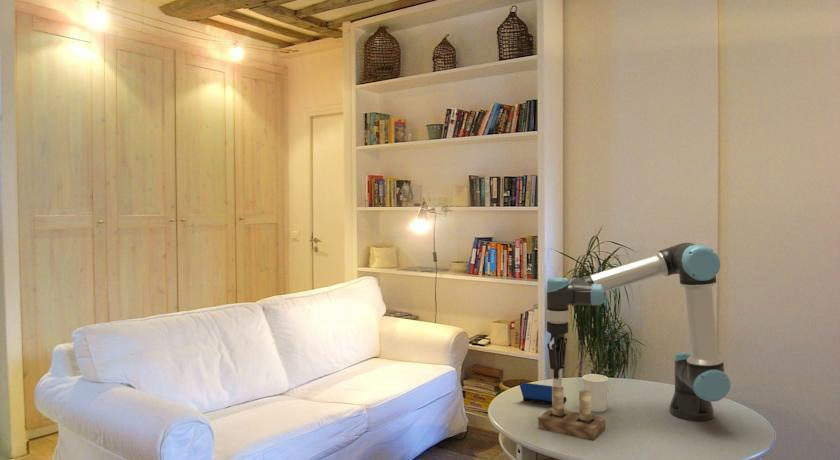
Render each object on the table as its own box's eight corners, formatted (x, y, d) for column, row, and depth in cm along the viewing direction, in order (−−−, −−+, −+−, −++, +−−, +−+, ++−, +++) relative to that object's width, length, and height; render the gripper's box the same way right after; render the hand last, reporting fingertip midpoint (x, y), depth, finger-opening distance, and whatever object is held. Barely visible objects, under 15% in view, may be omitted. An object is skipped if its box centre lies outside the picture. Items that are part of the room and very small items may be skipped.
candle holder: (605, 404, 238) (605, 374, 237) (611, 412, 228) (611, 381, 227) (580, 403, 239) (580, 373, 238) (584, 412, 229) (584, 381, 228)
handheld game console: (567, 400, 244) (567, 378, 243) (557, 411, 232) (557, 387, 232) (530, 395, 251) (530, 373, 251) (518, 404, 240) (518, 381, 239)
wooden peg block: (605, 429, 212) (605, 389, 211) (593, 440, 202) (593, 399, 202) (551, 418, 224) (551, 380, 223) (538, 428, 214) (537, 389, 213)
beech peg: (566, 425, 216) (565, 386, 216) (561, 429, 213) (561, 390, 212) (555, 423, 219) (554, 385, 218) (550, 426, 215) (549, 388, 215)
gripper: (554, 317, 222) (554, 380, 223) (540, 323, 211) (540, 389, 212) (574, 319, 217) (574, 384, 218) (560, 325, 207) (560, 393, 208)
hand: (557, 386), depth 215 cm, fingers closed
